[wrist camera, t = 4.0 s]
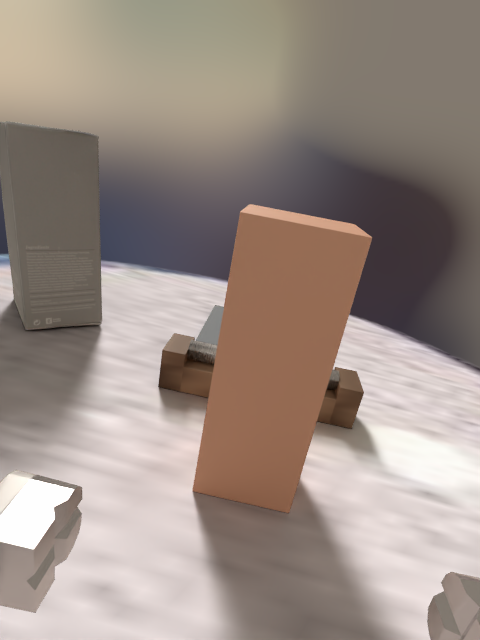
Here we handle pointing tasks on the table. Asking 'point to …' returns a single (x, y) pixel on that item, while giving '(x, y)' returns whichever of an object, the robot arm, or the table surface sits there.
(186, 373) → the bar
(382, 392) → the table surface
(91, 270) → the skincare box
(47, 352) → the table surface
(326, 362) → the orange rectangular block
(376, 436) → the table surface
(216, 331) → the mat
